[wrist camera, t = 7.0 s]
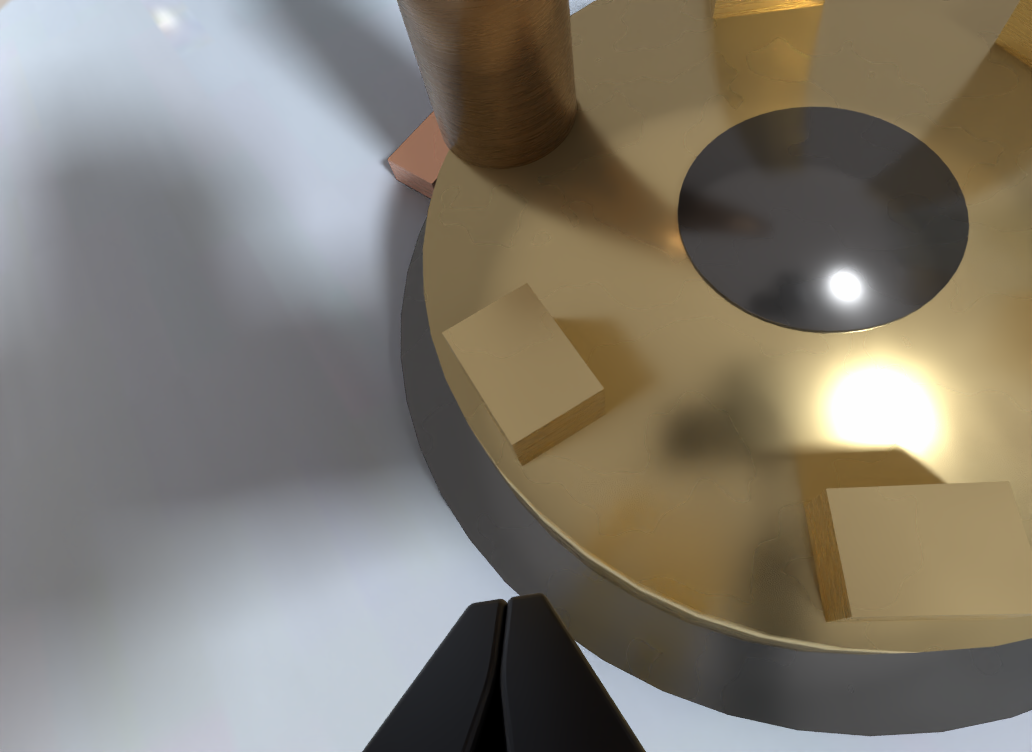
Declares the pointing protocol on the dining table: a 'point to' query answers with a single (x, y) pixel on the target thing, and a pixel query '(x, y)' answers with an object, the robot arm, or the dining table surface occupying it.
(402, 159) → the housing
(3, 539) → the dining table surface
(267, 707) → the dining table surface
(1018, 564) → the brass turntable disc
